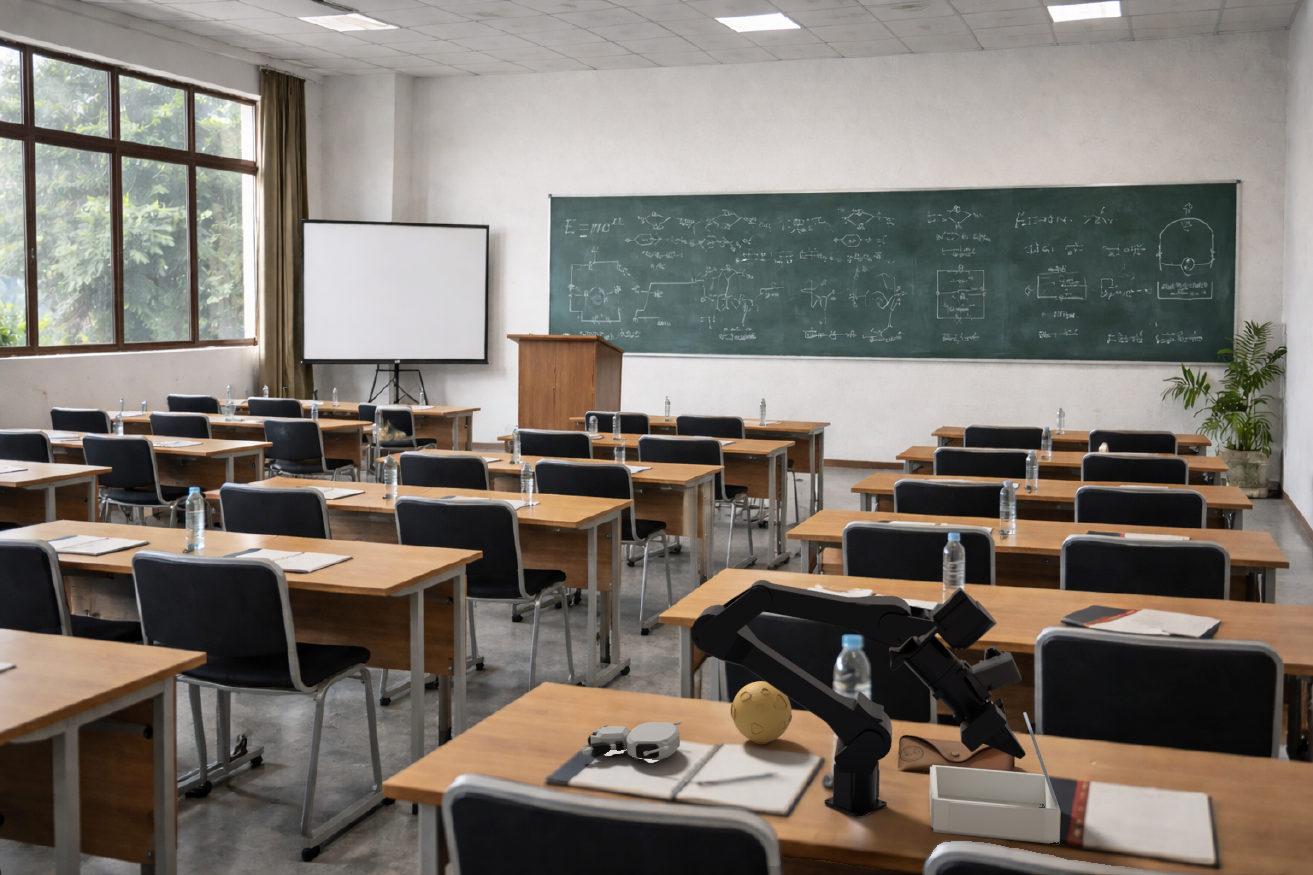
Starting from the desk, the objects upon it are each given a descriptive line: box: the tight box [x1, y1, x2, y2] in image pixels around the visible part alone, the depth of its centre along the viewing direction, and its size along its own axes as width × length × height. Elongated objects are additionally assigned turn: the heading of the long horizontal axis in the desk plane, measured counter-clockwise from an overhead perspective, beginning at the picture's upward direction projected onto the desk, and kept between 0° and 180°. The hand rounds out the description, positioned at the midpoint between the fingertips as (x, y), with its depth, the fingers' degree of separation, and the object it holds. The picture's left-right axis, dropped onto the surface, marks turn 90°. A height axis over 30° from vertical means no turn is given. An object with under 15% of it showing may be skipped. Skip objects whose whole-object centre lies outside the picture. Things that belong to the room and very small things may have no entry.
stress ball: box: [730, 680, 793, 745], centre depth 182 cm, size 10×10×10 cm
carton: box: [928, 765, 1061, 844], centre depth 152 cm, size 16×14×4 cm
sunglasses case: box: [897, 734, 1016, 775], centre depth 171 cm, size 18×7×7 cm, turn 74°
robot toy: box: [581, 721, 683, 761], centre depth 176 cm, size 12×4×15 cm
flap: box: [1022, 711, 1059, 806], centre depth 150 cm, size 1×12×9 cm, turn 167°
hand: (1023, 756), depth 150 cm, fingers closed
